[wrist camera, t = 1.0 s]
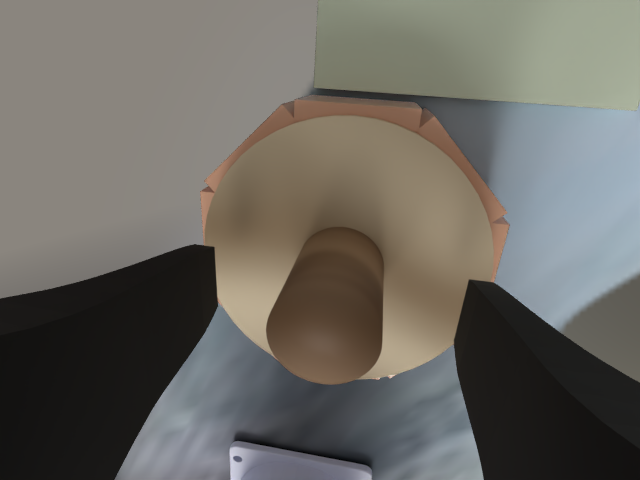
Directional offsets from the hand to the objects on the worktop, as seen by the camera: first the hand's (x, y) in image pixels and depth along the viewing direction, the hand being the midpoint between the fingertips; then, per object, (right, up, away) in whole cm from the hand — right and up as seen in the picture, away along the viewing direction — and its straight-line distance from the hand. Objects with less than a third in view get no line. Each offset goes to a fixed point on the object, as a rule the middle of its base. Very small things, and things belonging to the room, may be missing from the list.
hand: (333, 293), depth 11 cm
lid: (0, +1, +2) cm, 2 cm away
